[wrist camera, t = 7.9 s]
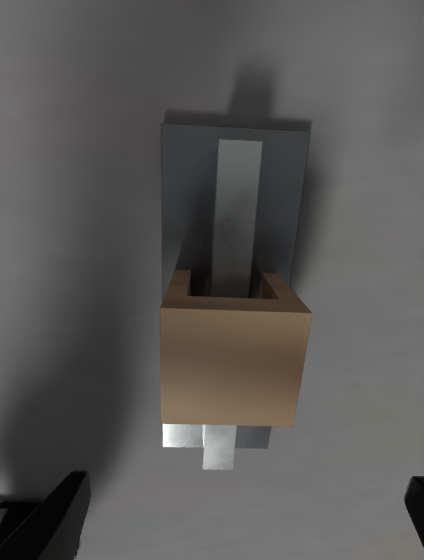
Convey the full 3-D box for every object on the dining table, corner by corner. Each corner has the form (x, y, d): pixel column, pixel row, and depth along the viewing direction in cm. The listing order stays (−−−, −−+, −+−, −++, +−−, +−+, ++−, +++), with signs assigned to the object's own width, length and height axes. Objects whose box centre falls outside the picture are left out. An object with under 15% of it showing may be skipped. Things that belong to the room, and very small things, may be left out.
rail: (266, 442, 23) (275, 481, 20) (164, 440, 22) (157, 479, 19) (306, 133, 16) (330, 121, 13) (162, 125, 16) (152, 110, 13)
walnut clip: (267, 357, 20) (293, 426, 14) (174, 354, 19) (161, 424, 14) (277, 273, 18) (311, 313, 12) (174, 269, 18) (160, 307, 12)
